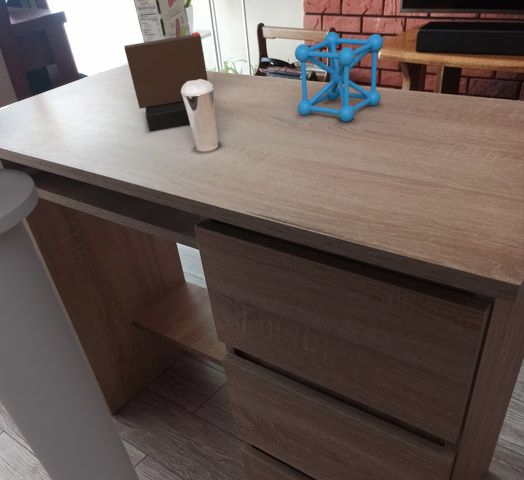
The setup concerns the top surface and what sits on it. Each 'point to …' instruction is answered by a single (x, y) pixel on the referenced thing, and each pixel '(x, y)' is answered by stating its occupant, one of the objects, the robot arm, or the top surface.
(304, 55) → the molecular structure
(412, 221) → the top surface
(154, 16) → the candy bar box
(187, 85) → the milkshake
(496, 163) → the top surface
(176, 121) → the frame stand
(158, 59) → the frame
